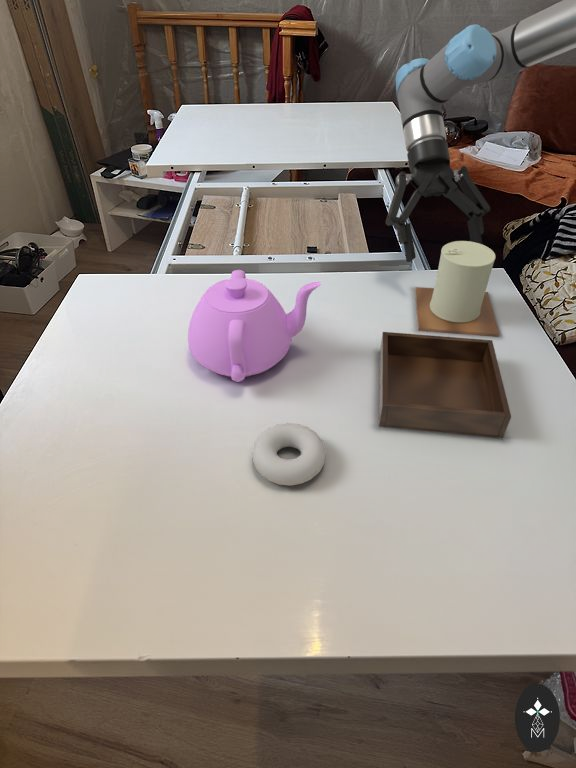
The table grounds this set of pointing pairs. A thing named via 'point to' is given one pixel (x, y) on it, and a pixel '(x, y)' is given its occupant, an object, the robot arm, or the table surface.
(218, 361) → the teapot
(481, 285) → the can
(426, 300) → the coaster
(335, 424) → the table surface
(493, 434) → the tray
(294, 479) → the donut
